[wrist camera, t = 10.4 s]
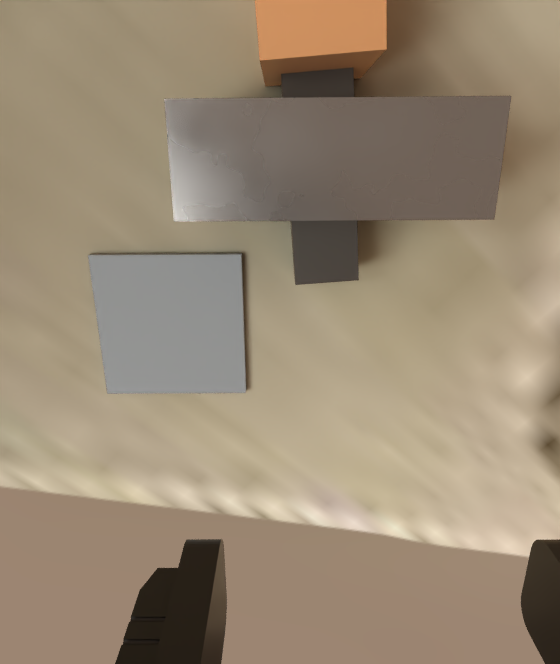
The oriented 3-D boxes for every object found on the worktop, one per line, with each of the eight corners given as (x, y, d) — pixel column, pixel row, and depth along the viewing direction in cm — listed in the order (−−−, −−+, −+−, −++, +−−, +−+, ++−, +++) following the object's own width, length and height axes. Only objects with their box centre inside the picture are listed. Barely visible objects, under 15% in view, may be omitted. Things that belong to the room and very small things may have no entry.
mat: (109, 390, 28) (107, 393, 28) (91, 254, 25) (88, 255, 25) (246, 389, 28) (245, 393, 28) (241, 253, 25) (241, 254, 25)
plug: (280, 272, 26) (279, 303, 20) (255, -40, 21) (245, -115, 15) (364, 266, 26) (387, 295, 20) (357, -50, 21) (386, -129, 15)
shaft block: (205, 204, 24) (173, 221, 17) (201, 119, 23) (164, 98, 16) (430, 203, 24) (494, 219, 17) (439, 117, 23) (511, 96, 16)
